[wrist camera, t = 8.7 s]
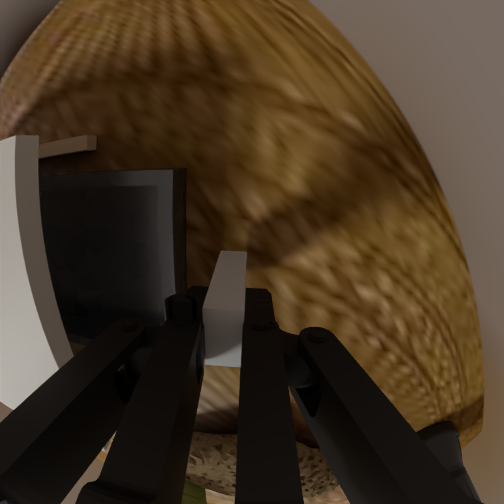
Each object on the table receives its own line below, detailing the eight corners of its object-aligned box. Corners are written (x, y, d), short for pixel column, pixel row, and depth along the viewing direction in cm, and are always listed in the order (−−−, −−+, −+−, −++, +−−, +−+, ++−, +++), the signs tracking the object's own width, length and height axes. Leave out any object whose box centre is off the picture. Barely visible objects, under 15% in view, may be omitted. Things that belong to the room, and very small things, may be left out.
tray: (186, 168, 16) (172, 169, 13) (190, 336, 19) (181, 362, 17) (13, 181, 15) (-11, 187, 12) (34, 310, 19) (17, 325, 16)
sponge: (348, 436, 27) (226, 402, 18) (357, 489, 20) (223, 498, 12) (269, 458, 32) (147, 427, 23) (271, 503, 25) (138, 489, 17)
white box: (115, 132, 15) (16, 122, 6) (140, 370, 21) (105, 451, 12) (-7, 159, 14) (-79, 174, 6) (28, 341, 20) (-16, 390, 12)
